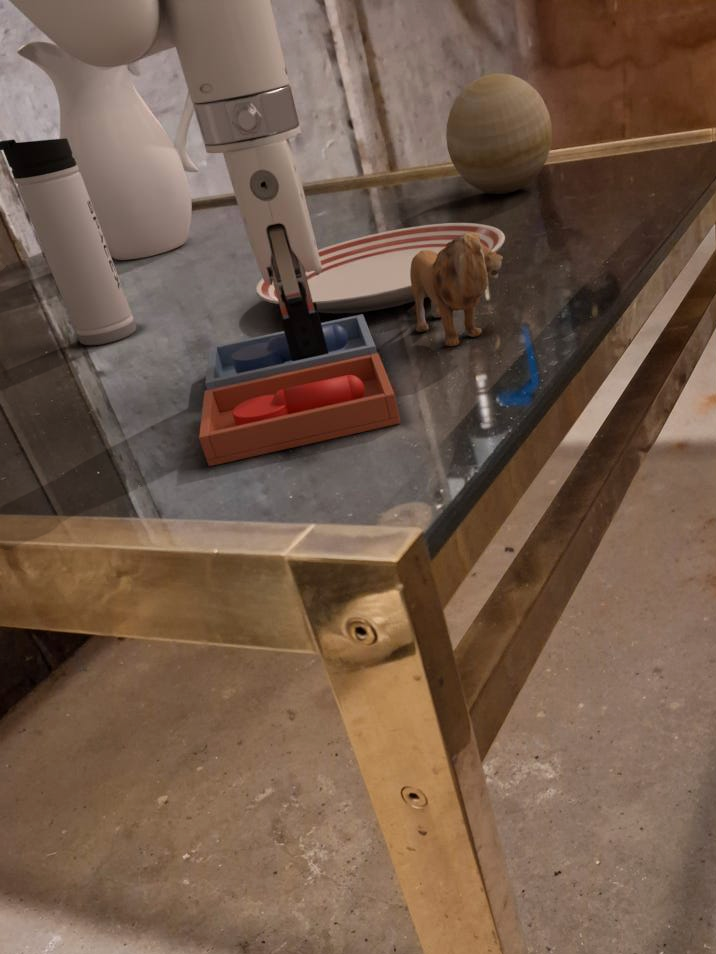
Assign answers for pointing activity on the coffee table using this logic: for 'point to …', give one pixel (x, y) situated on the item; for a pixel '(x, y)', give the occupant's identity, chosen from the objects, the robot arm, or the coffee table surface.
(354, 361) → the red tray
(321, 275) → the dinner plate
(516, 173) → the decorative ball
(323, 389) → the red spoon
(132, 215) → the pitcher
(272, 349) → the blue spoon
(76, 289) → the travel mug
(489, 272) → the lion figurine
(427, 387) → the coffee table surface
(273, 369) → the blue tray
